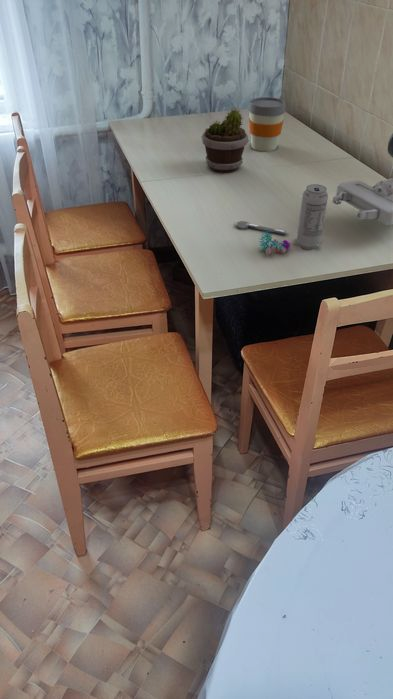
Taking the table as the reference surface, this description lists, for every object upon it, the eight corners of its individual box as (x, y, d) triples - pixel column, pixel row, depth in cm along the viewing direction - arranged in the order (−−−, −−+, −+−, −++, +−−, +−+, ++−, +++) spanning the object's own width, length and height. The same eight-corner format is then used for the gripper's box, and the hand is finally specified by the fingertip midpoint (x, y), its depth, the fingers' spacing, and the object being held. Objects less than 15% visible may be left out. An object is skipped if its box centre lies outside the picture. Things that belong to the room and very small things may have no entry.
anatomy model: (294, 244, 129) (290, 227, 134) (260, 244, 129) (258, 228, 134) (291, 261, 133) (288, 244, 138) (259, 261, 133) (256, 245, 138)
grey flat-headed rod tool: (287, 231, 144) (288, 228, 143) (284, 237, 141) (284, 234, 141) (239, 222, 148) (239, 218, 147) (234, 227, 145) (234, 224, 145)
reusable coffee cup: (264, 155, 187) (267, 109, 177) (239, 145, 194) (241, 101, 185) (288, 147, 193) (293, 102, 183) (263, 138, 200) (267, 94, 191)
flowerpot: (191, 166, 179) (191, 102, 166) (225, 155, 187) (228, 93, 174) (221, 179, 170) (224, 113, 158) (255, 167, 178) (260, 103, 165)
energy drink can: (317, 239, 141) (327, 183, 131) (321, 250, 136) (331, 193, 127) (294, 238, 141) (302, 182, 131) (297, 250, 136) (305, 193, 127)
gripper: (362, 171, 148) (322, 181, 143) (419, 200, 134) (376, 211, 129) (358, 193, 152) (318, 203, 147) (412, 223, 138) (371, 235, 133)
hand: (346, 207), depth 138 cm, fingers open, 8 cm apart
